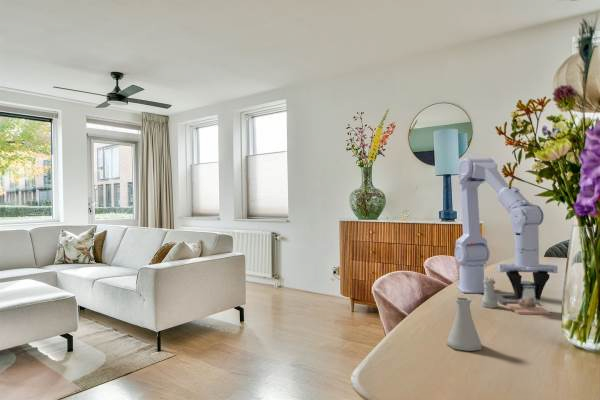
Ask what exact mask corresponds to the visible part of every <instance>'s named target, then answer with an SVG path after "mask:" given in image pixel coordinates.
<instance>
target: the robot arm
mask: <svg viewBox="0 0 600 400" xmlns="http://www.w3.org/2000/svg"><path fill="white" fill-rule="evenodd" d="M457 173H458V174H457V175H458V184H459V187H460V188H459V189H460V190H459V191H460V206H461V207H460V208H461V223H462V235H461V236H460V237H459V238H457V239H456V240H455V246H454V247H455V248H454V258H455V260H456V261H457V262H458V264H459V265H460V266H459V269H458V271H459V275H458V276H459V284H456V287H457V289H459V290H460V292H462V293H467V294H468V293H469V294H484V291H485V288H484V286H485V284H484V282H483V281H484V278H485V265H487V262H488V261H489V260H490V253H491V252H490V248H489V246H488V240H487V239H486V238H485V237H484V236H482V235H481V229H480V228H481V227H480V226H481V225H480V208H479V193H478V190H479V189H478V188H479V187H480V185H481V184H484V183H485V182H487V184H489V186H491V188H492V189H493V190H495V192H496V193H497V194H498V195H497V199H498V201H499V202H500V204H501V205H502V206H503V208H504V209H506V211H507V212H508V213H509V215H508V219H509V222H510V224H511V226H512V231H513V233H514V263H506V264H503V263H501V264H500V263H498V264H497V272H499V273H506V277H507V278H508V281H509V282H510V284H511V287H512V289H513V294H515V298H514V299H517V300H518V299H521V290H520V286H521V281H522V277H523V276H522V275H520V273H532V277H533V283H536V284H537V287H536V301H537V300H541V298H542V293H543V290H544V288H545V286H546V284H547V282H548V281H549V279H550V277H551V276H550V273H552V274H558V266H557V265H556V264H542V263H541V264H540V254H539V253H540V249H539V248H540V245H539V244H540V243H539V241H540V240H539V239H540V238H539V226H540V225H542V223H543V222H544V217H545V215H544V211H543V209H542V208H541V206H540V205H538V204H532V203H531V202H530V201H529V200H528V199H527V198H526V197H525V196H524V195H523V194H522V193H521V191H520V189H519V187H516V186H510V185H508V183H507V182H506V180H505V179H504V177H503V176H502V175H501V173H500V172H499V171H498V164H497V163H496V162H495V161H494V159H493V158H490V157H489V158H488V157H487V158H468V157H464V158H462V160H461V161H460V162H459V163H458V166H457ZM508 187H511V189H509V188H508Z"/></svg>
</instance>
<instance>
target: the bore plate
mask: <svg viewBox="0 0 600 400" xmlns="http://www.w3.org/2000/svg"><path fill="white" fill-rule="evenodd" d="M494 295H495V298H496V300H497V302H499V304H501V305H502V306H507V304H518V300H513V299H516V298H515V293H494ZM508 299H510V300H508ZM511 299H512V300H511ZM536 304H537V305H539V306H541V303H540V302H539V301H537V300H536Z"/></svg>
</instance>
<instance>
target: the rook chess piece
mask: <svg viewBox="0 0 600 400" xmlns="http://www.w3.org/2000/svg"><path fill="white" fill-rule="evenodd" d="M483 282H484V289H485V291H484V293H483V296H482V299H481V300H480V301H481V303H480V304H481V307H484V308H488V309H496V308H498V306H499V304H498V301H497V300H496V298H495V295H494V294H495V288H496V287H495V286H494V285H495V284H496V281H495V280H494V277H493V278H492V277H484V281H483Z"/></svg>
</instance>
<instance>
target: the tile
mask: <svg viewBox="0 0 600 400" xmlns="http://www.w3.org/2000/svg"><path fill="white" fill-rule="evenodd" d="M506 306H507V307H508V308H509V309H510V310H512V311H513V312H514V313H515V314H517V315H541V316H551V312H550V311H548V310H547V309H545V308H544V307H542V306H541V305H540V306H539V305H537V304H536V307H532V308H530V307H523V306H520V305H518V304H507V305H506Z"/></svg>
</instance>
